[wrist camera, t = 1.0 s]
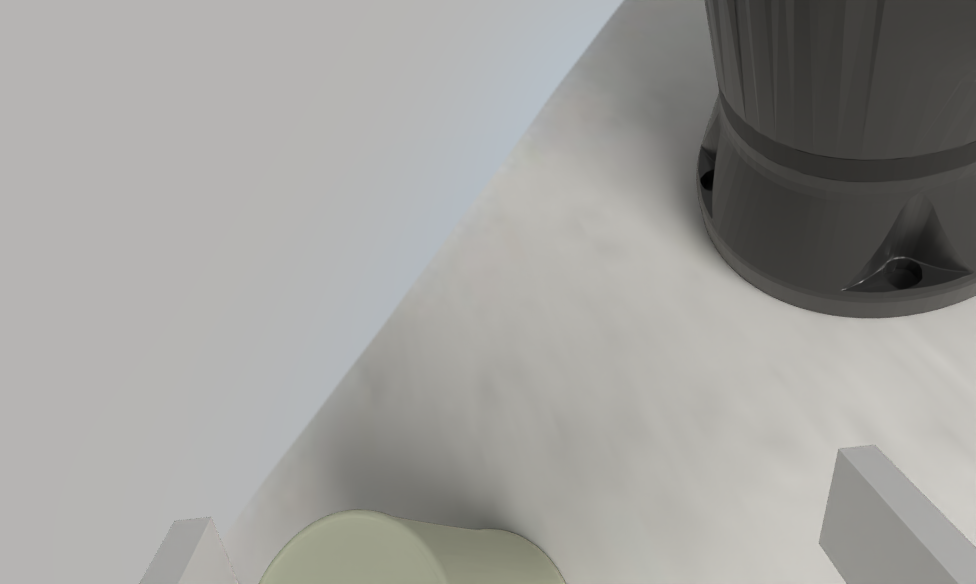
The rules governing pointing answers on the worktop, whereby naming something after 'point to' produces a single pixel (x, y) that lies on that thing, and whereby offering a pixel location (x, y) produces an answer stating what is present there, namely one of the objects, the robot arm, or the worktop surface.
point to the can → (406, 554)
